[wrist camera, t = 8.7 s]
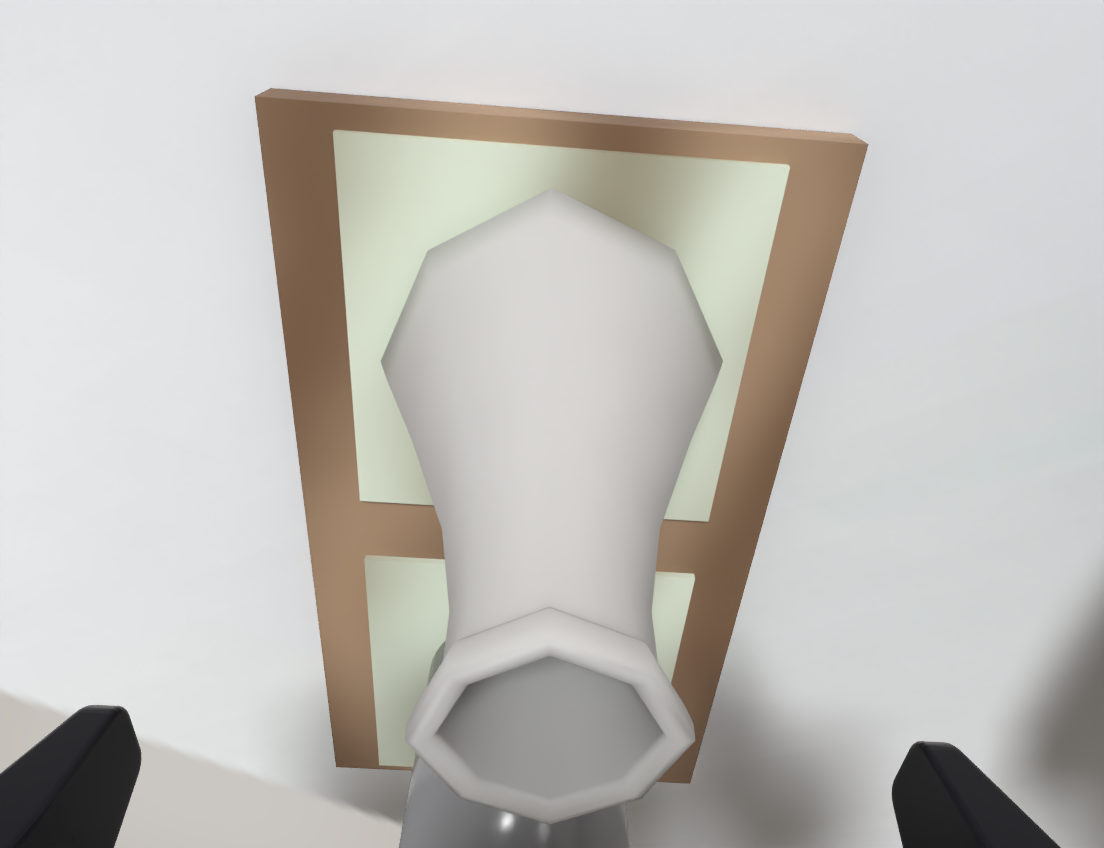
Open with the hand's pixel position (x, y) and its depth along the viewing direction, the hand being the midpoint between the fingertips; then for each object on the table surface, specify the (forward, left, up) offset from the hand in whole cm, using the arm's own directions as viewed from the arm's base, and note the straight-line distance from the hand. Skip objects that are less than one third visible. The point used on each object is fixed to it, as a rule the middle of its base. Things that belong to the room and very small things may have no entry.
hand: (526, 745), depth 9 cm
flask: (0, 0, -10) cm, 10 cm away
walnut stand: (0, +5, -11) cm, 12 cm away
